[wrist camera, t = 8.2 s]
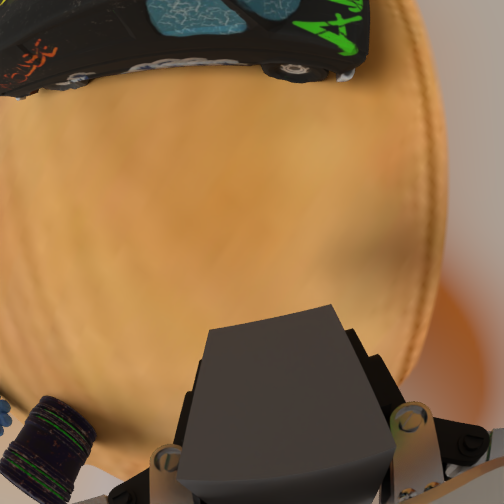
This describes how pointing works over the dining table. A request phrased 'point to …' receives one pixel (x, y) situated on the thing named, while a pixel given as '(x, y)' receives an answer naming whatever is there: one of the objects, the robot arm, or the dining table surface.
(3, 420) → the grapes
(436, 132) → the dining table surface
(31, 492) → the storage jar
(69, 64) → the toy van
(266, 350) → the grey block
